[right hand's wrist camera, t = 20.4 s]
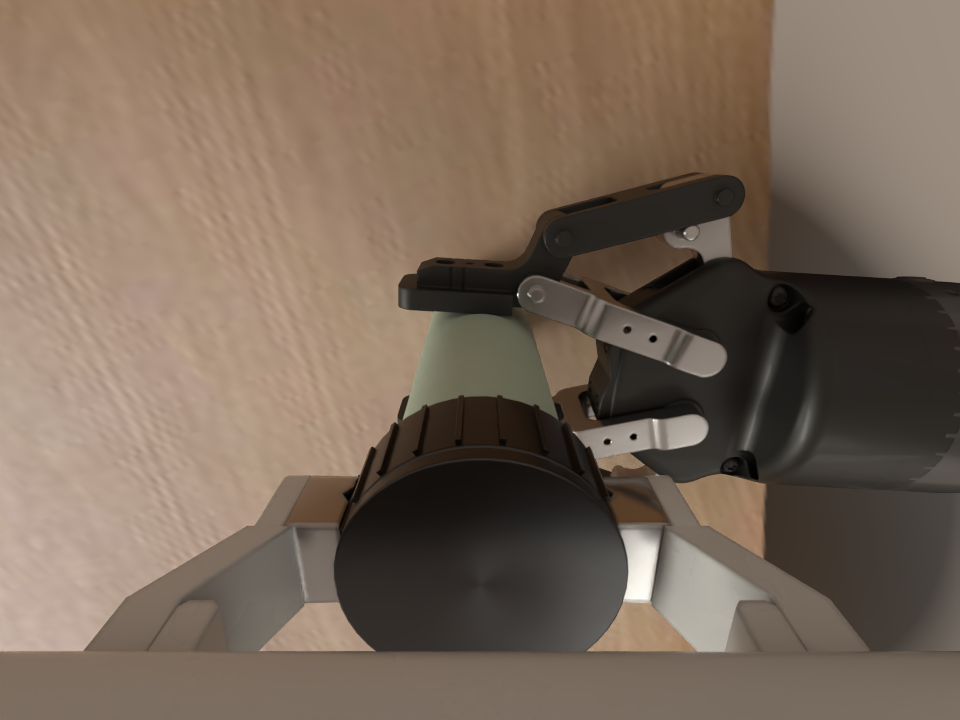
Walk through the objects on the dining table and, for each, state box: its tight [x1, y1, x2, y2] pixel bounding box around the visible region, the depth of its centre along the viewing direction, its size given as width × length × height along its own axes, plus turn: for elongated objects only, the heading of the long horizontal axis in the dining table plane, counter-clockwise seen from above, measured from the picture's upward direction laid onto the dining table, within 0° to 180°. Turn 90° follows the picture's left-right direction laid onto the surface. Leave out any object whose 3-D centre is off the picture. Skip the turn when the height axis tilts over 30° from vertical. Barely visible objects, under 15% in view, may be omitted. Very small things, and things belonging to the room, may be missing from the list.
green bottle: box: [403, 307, 558, 420], centre depth 17 cm, size 4×4×15 cm
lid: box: [334, 395, 629, 652], centre depth 10 cm, size 5×5×2 cm
